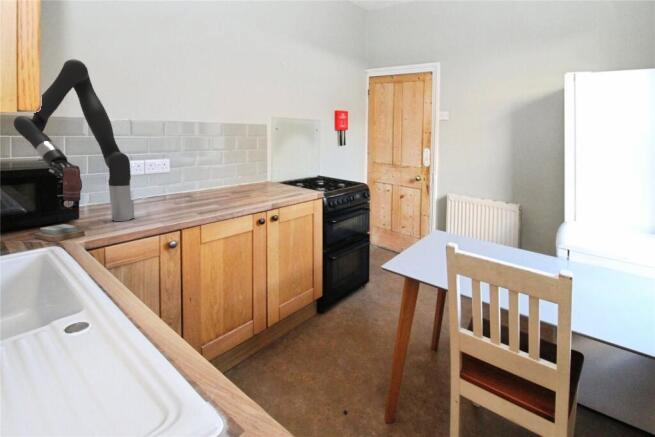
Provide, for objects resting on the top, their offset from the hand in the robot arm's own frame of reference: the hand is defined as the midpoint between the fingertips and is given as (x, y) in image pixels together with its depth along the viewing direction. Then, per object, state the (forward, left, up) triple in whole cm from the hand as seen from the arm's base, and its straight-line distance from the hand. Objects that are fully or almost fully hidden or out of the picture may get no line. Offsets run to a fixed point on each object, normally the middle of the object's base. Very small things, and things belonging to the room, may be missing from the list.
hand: (76, 184), depth 160 cm
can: (+1, -3, -7) cm, 8 cm away
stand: (+12, +6, -20) cm, 24 cm away
